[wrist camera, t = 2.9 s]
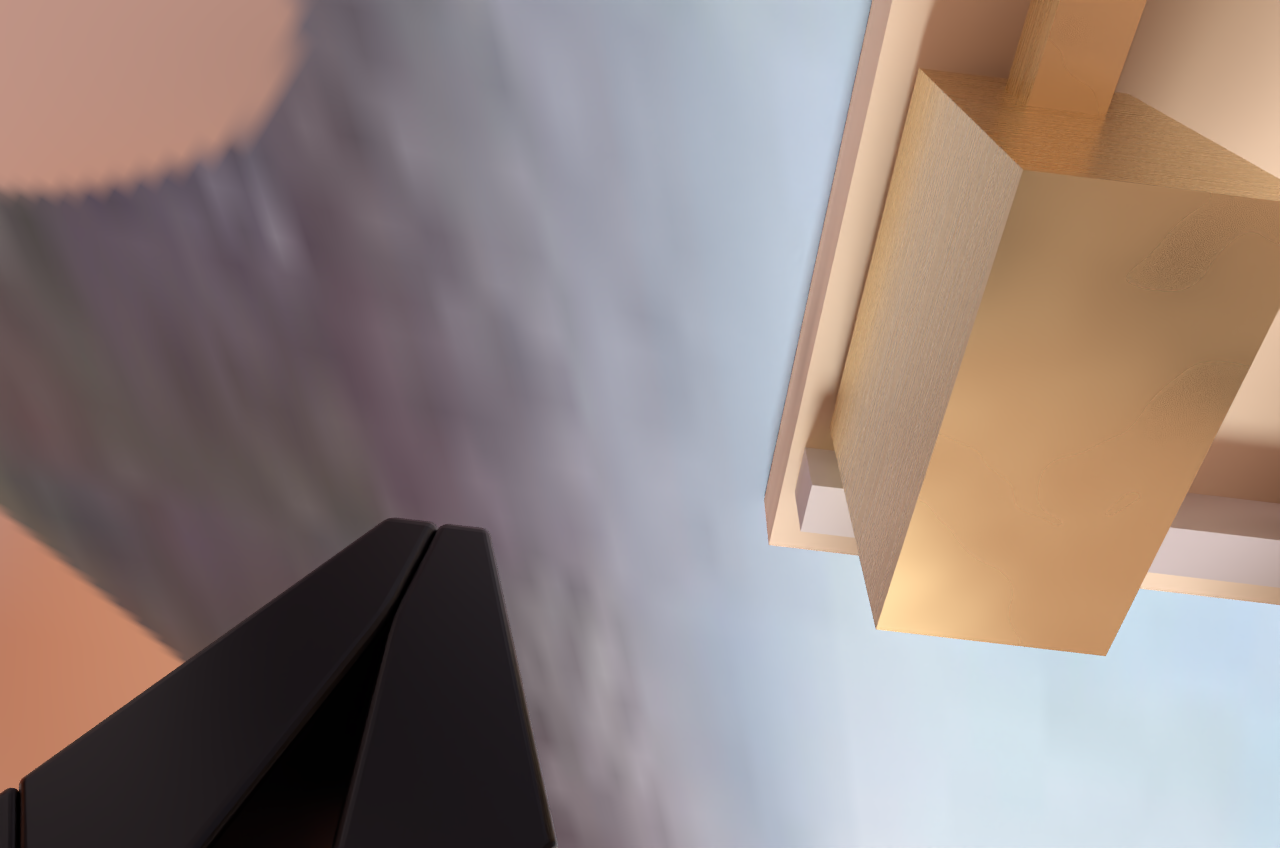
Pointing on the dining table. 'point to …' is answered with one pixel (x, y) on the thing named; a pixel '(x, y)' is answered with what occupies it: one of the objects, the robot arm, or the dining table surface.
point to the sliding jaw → (1045, 340)
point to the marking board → (889, 62)
